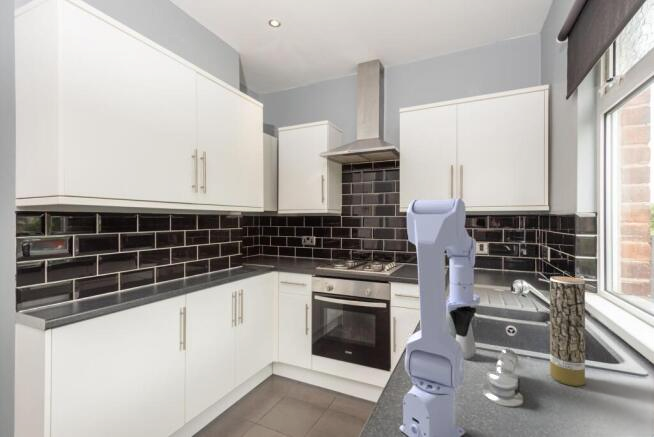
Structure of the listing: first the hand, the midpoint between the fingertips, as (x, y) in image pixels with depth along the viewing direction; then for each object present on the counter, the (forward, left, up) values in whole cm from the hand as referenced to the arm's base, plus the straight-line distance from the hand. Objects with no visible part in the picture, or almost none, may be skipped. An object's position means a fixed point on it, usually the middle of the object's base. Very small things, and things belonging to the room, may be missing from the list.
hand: (461, 335), depth 80 cm
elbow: (+2, -10, -8) cm, 12 cm away
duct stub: (-2, -11, -10) cm, 15 cm away
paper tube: (+18, -17, -10) cm, 27 cm away
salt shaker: (+10, +5, -10) cm, 15 cm away
